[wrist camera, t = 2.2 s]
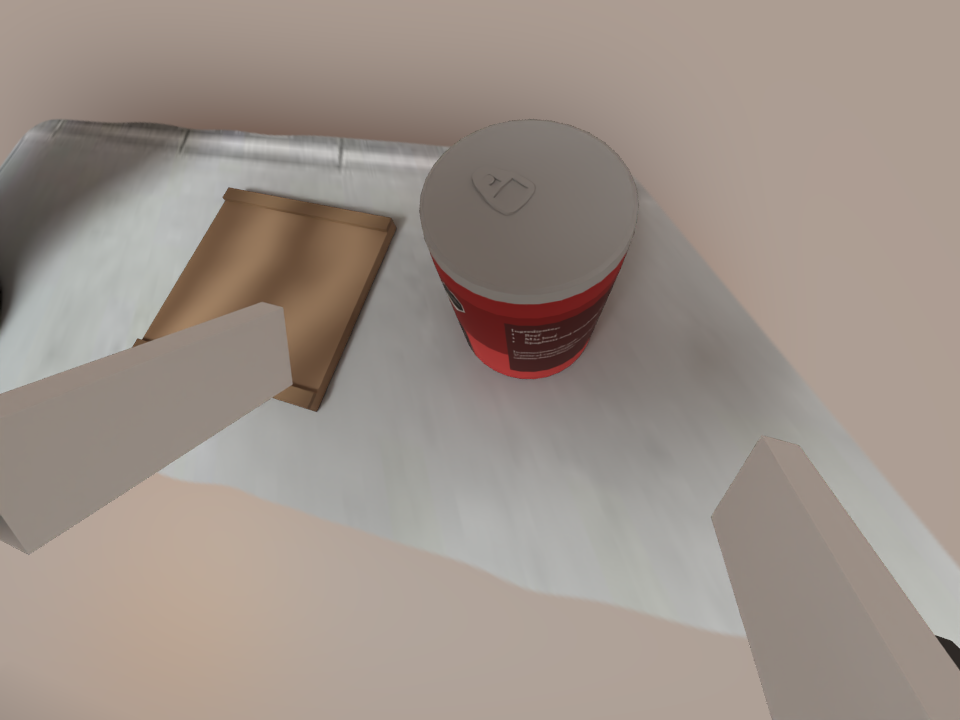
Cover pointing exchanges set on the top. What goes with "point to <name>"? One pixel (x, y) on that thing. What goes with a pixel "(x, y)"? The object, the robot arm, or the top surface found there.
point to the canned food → (528, 239)
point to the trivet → (283, 278)
